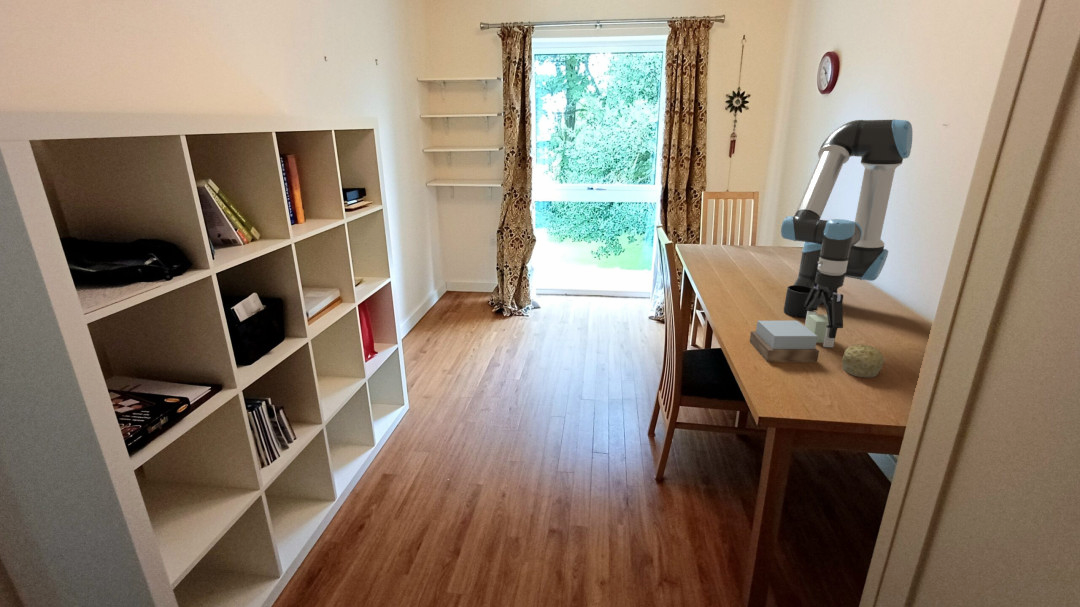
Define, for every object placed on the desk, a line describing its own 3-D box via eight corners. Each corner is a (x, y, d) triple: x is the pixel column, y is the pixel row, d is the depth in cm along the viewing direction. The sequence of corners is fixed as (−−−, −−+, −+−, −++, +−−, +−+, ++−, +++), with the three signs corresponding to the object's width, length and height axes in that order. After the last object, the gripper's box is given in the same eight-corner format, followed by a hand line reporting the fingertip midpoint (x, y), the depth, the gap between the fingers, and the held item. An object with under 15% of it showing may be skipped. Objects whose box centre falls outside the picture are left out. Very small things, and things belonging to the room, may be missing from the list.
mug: (810, 308, 186) (815, 284, 183) (814, 319, 175) (818, 294, 172) (782, 305, 189) (786, 281, 186) (783, 316, 178) (788, 291, 175)
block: (823, 335, 162) (827, 314, 160) (832, 343, 157) (836, 321, 154) (803, 335, 163) (807, 314, 160) (812, 342, 157) (816, 321, 155)
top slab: (794, 332, 155) (797, 320, 154) (815, 349, 144) (817, 336, 143) (755, 332, 155) (757, 320, 154) (772, 349, 144) (774, 336, 143)
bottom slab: (795, 343, 157) (797, 331, 156) (816, 364, 144) (819, 351, 143) (749, 343, 158) (751, 331, 157) (766, 363, 145) (768, 350, 143)
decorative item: (841, 375, 145) (827, 350, 141) (872, 355, 143) (858, 330, 140) (864, 392, 136) (850, 366, 132) (897, 371, 134) (883, 344, 131)
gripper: (800, 261, 164) (789, 323, 171) (839, 284, 141) (824, 354, 148) (824, 261, 164) (812, 323, 171) (866, 284, 141) (850, 355, 148)
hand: (817, 338), depth 159 cm, fingers open, 12 cm apart
